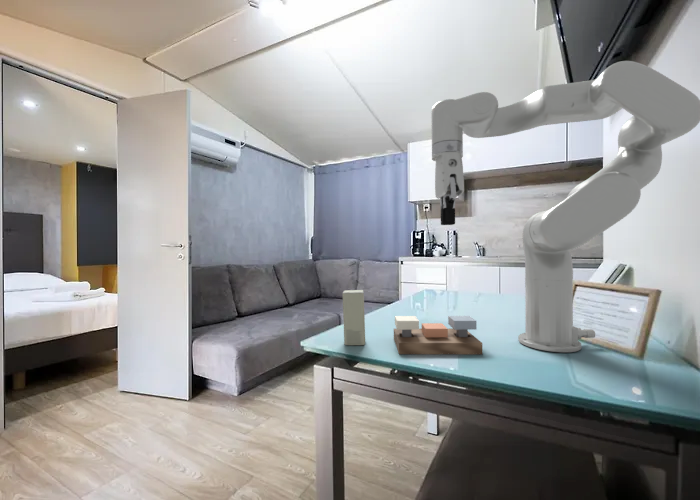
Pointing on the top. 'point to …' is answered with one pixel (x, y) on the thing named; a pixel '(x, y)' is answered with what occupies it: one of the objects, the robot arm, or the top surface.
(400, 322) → the cream key
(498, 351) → the top surface
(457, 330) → the slate key
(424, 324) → the terracotta key
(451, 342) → the walnut board
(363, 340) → the box
